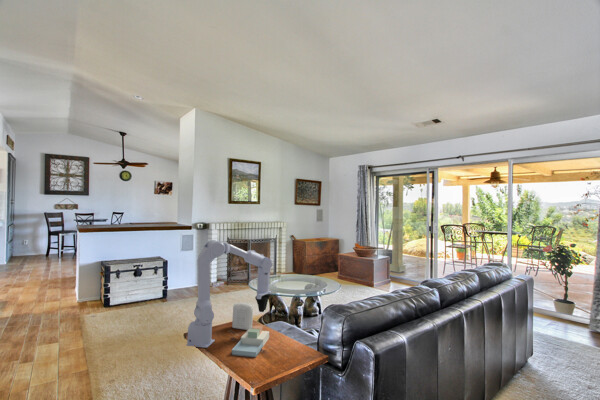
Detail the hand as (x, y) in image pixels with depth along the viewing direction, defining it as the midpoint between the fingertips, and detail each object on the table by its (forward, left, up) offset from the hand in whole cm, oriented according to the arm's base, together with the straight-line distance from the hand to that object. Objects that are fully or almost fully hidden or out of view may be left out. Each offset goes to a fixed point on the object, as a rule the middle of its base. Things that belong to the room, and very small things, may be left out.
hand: (262, 310), depth 150 cm
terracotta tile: (0, -8, -7) cm, 11 cm away
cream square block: (0, -10, -10) cm, 14 cm away
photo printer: (-11, +4, -11) cm, 16 cm away
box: (0, -20, -10) cm, 23 cm away
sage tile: (0, -12, -7) cm, 15 cm away
